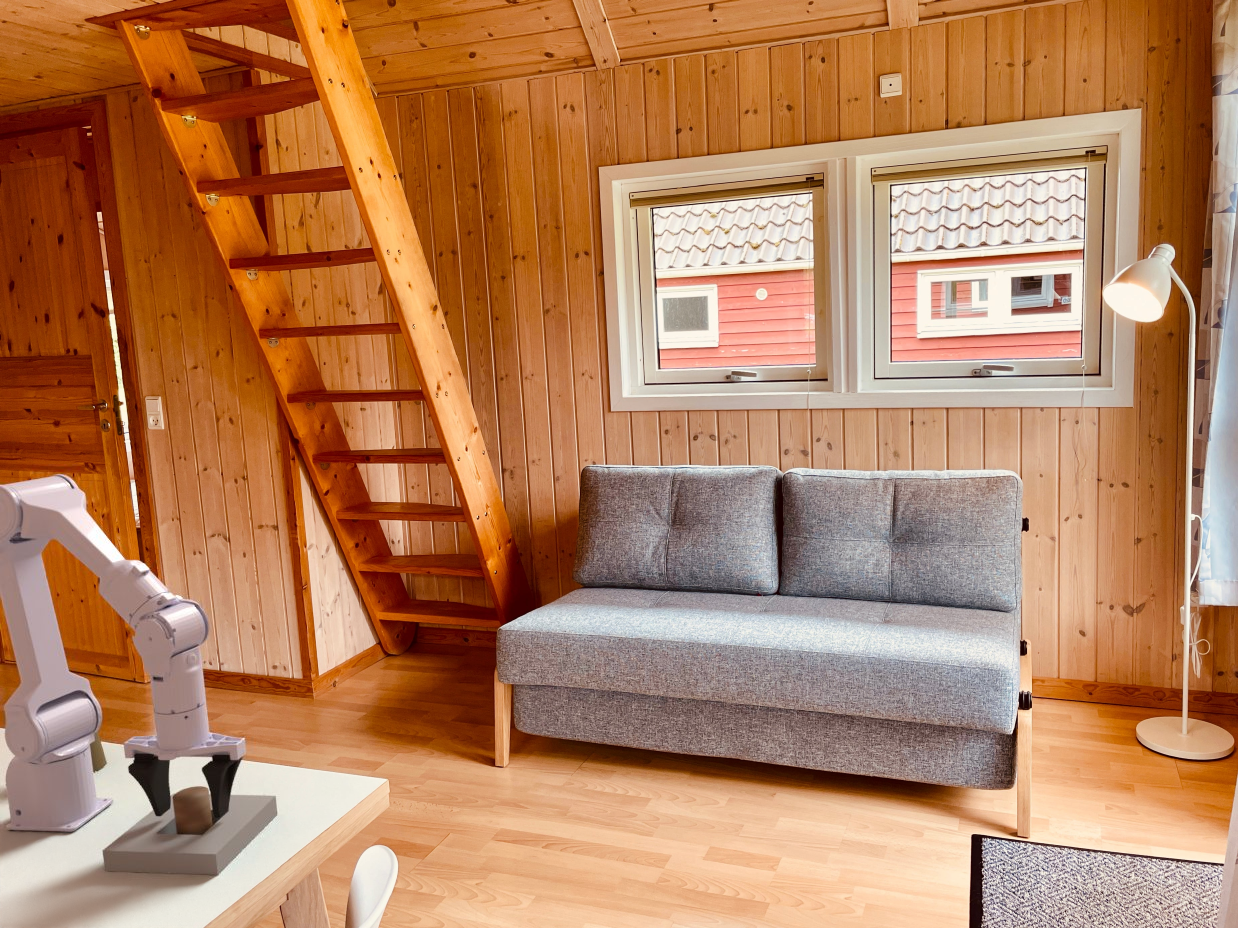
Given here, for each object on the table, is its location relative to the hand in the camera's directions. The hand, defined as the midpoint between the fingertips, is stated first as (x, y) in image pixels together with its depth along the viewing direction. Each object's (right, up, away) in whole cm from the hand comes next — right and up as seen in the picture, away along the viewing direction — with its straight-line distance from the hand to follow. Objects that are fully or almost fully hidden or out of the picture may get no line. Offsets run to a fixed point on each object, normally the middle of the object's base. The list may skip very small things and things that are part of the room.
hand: (192, 813), depth 119 cm
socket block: (0, -4, 0) cm, 4 cm away
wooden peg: (0, -4, +1) cm, 4 cm away
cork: (-26, -2, +23) cm, 35 cm away
